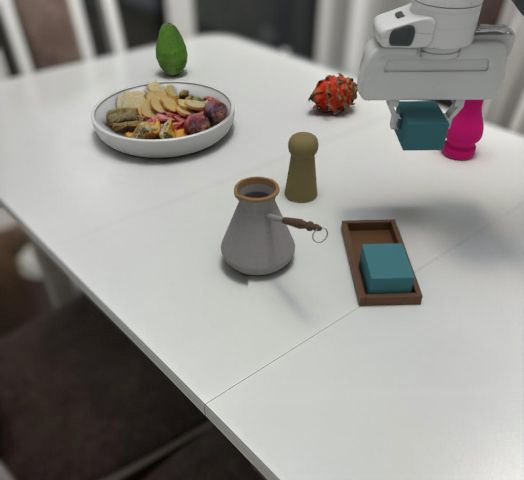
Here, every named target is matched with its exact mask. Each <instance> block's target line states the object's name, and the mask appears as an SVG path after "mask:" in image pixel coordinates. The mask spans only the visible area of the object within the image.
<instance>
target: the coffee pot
mask: <svg viewBox="0 0 524 480" xmlns="http://www.w3.org/2000/svg"><path fill="white" fill-rule="evenodd" d="M280 190H281V187H280V185H279V183H278V182H277V181H276V180H274V179H272V178H269V177H265V176H258V175H257V176H248V177H245V178H241V180H239V181H237V183H235V185H234V188H233V195H234V197H235V198H236V199H237V201H238V203H237V205H236V208H235V209H234V212H233V214H232V217H231V219H230V221H229V224H228V226H227V229H226V231H225V233H224V236H223V238H222V240H221V244H220V252H221V255H222V257H223V258H224V261H226V264H228V265H229V266H230V267H231V268H232V269H234V270H236V271H237V272H239V273H241V274H243V275H245V276H249V275H250V276H265V275H270V274H274V273H276V272H278V271H280V270H282V269H283V268H284V267H285V266H286V265H288V264H289V263H290V261H291V260H292V258H293V256H294V254H295V251H296V242H295V240H294V237H293V235H292V232H291V231H290V229H289V227H288V226H290V227H292V228H294V229H298V230H306V231H307V232H312V234H311V239H312V241H313V242H314V243H317V244H321V243H323V242H325V241H326V240H327V238H328V237H329V231H328V229H327V228H325V227H323V226H321V225H319V224H318V223H314V222H313V221H312V220H309V221H306V220H304V219H303V218H296V217H289V216H288V217H287V216H283V214H282V211H281V210H280V208H279V206H278V203H277V201H276V198H277V197H278V195H279V194H280ZM322 230H325V232H326V236H325V237H324V239H322V240H321V241H316V240H315V238H314V236H315V233H316V232H320V231H322Z"/></svg>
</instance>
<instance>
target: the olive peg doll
mask: <svg viewBox="0 0 524 480" xmlns="http://www.w3.org/2000/svg"><path fill="white" fill-rule="evenodd" d="M287 148H288V153H289V154H290V158H289V164H288V170H287V176H286V182H285V187H284V197H285V198H286V199H287V200H289V201H290V202H293V203H297V204H304V203H310V202H313V201H314V200H316V199H317V197H318V184H317V183H318V182H317V171H316V169H317V167H316V154H317V153H318V151H319V140H318V137H317V136H316V134H313V133H311V132H309V131H299V132H298V131H297V132H295V133H293V134H292V135H291V136H290V137H289V139H288V142H287Z"/></svg>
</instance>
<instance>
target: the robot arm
mask: <svg viewBox="0 0 524 480" xmlns="http://www.w3.org/2000/svg"><path fill="white" fill-rule="evenodd" d="M511 2H512V3H513V4H514V6H515V8H516V9H517V10H518V12H519V13H520V14H521V15H522V17H524V0H511ZM483 3H484V0H411V2H410V3H407V4H405V5H402V6H400V7H397V8H394V9H392V10H389V11H385V12H383V13H380V14H378V15H376V16H375V17H374V19H373V23H372V32H373V35H374V36H373V37H371V38H370V39H369V40H368V41H367V43H366V45H365V47H364V49H363V52H362V56H361V60H360V64H359V69H358V72H357V80H356V84H357V90H358V91H357V94H358V95H359V97H360V98H362V100H363V101H385V103H386V105H387V108H388V110H389V113H390V118H389V119H390V120H389V127H390V130H394V129H401V127H402V125H401V124H402V122H403V117H402V115H401V114H397V113H396V107H398V105H399V101H451V105H450V106H449V107H448V109H447V110H446V111H445V112H443V114H444V115H445V117H446V119H447V120H448V122H449V128H448V129H450V126H451V122H452V119H453V118H454V117H455V116H456V115H457V114H458V112H459V111H460V110H461V109H462V108H463V107H464V103H465V100H483V101H484V100H487V101H488V100H493V99H494V98H496V97H497V96H498V95H499V94H500V92H501V91H502V87H503V84H504V79H505V75H506V69H507V62H508V57H510V55H511V53H512V50H513V47H514V45H515V41H516V34H515V31H514V30H513V29H512V28H511V27H509V25H508V24H505V23H499V24H498V23H497V24H489V23H478V22H479V18H480V14H481V11H482V8H483Z"/></svg>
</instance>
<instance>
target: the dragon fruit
mask: <svg viewBox="0 0 524 480" xmlns="http://www.w3.org/2000/svg"><path fill="white" fill-rule="evenodd" d="M337 75H338V76H336V75H334V74H333V75H331V74H328V75H326V76H325V78H323V79H320V80H318V81H317V83H316V86H315V88H314V89H313V91H312V92H311V94H310V95H309V97H308V99H307V100H308V103H310V101H311V102H312V103H314V105H313V106H312V109H313V110H315V111H316V112H323V113H327V112H330V111H332V115H333V116H337V114H338V113H342V112H344V111H345V110H346V109H349V108H351V107H350V106H355V105H356V102H355V100H357V99H358V90H357V82H356V81H354V78H353V77H349V76H348V77H347V76H345V77H344V75H343V74H342V73H341V72H338V73H337Z"/></svg>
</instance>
